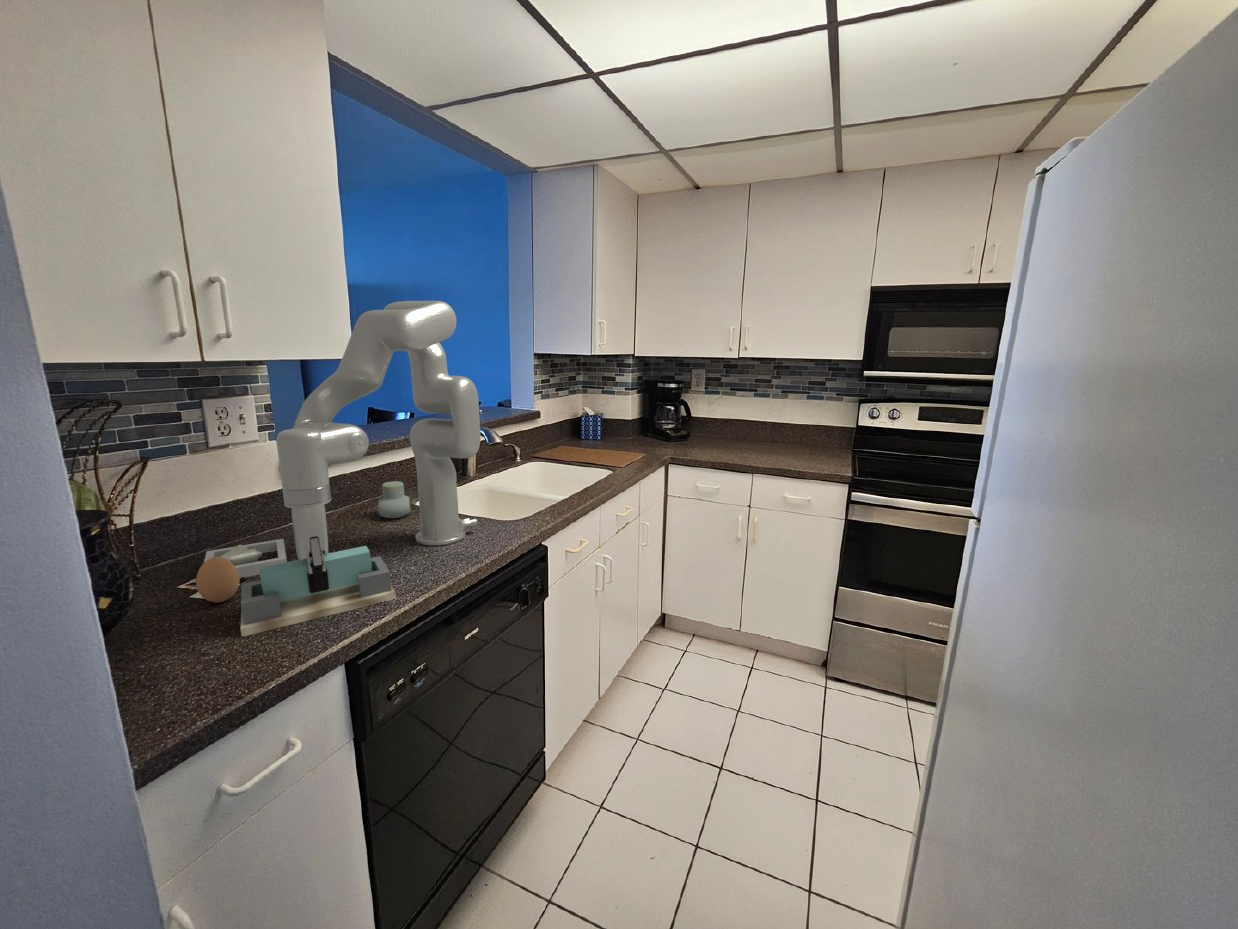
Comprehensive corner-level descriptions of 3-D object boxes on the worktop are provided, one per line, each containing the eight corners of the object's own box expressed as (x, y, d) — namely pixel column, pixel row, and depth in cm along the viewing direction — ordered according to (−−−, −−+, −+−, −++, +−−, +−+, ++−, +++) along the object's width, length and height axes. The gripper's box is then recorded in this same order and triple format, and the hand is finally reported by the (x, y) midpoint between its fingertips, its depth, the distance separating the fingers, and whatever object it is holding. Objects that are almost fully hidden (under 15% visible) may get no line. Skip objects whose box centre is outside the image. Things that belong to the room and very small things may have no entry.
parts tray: (284, 548, 128) (283, 538, 127) (287, 569, 116) (286, 558, 115) (208, 561, 119) (206, 551, 119) (203, 585, 107) (201, 574, 107)
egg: (244, 590, 105) (237, 548, 103) (240, 604, 100) (233, 560, 98) (203, 598, 102) (195, 555, 100) (197, 612, 96) (188, 567, 94)
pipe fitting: (265, 560, 122) (233, 559, 121) (264, 544, 121) (232, 543, 120) (245, 574, 114) (212, 573, 113) (244, 558, 113) (211, 557, 112)
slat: (369, 572, 106) (366, 545, 105) (373, 579, 103) (369, 551, 102) (265, 597, 96) (259, 567, 95) (265, 605, 93) (259, 575, 92)
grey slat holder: (381, 573, 110) (380, 556, 110) (391, 590, 103) (389, 571, 102) (244, 603, 97) (241, 583, 96) (244, 625, 89) (240, 604, 88)
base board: (383, 577, 112) (383, 571, 112) (396, 599, 102) (395, 592, 102) (242, 608, 98) (241, 601, 98) (241, 637, 88) (240, 629, 88)
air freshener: (381, 511, 157) (378, 480, 155) (410, 509, 160) (408, 478, 158) (378, 522, 147) (375, 489, 145) (409, 520, 150) (407, 486, 148)
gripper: (281, 488, 100) (292, 575, 104) (285, 509, 87) (298, 609, 90) (325, 483, 104) (334, 567, 108) (336, 502, 91) (346, 598, 95)
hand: (318, 585), depth 99 cm, fingers closed on slat, 4 cm apart
